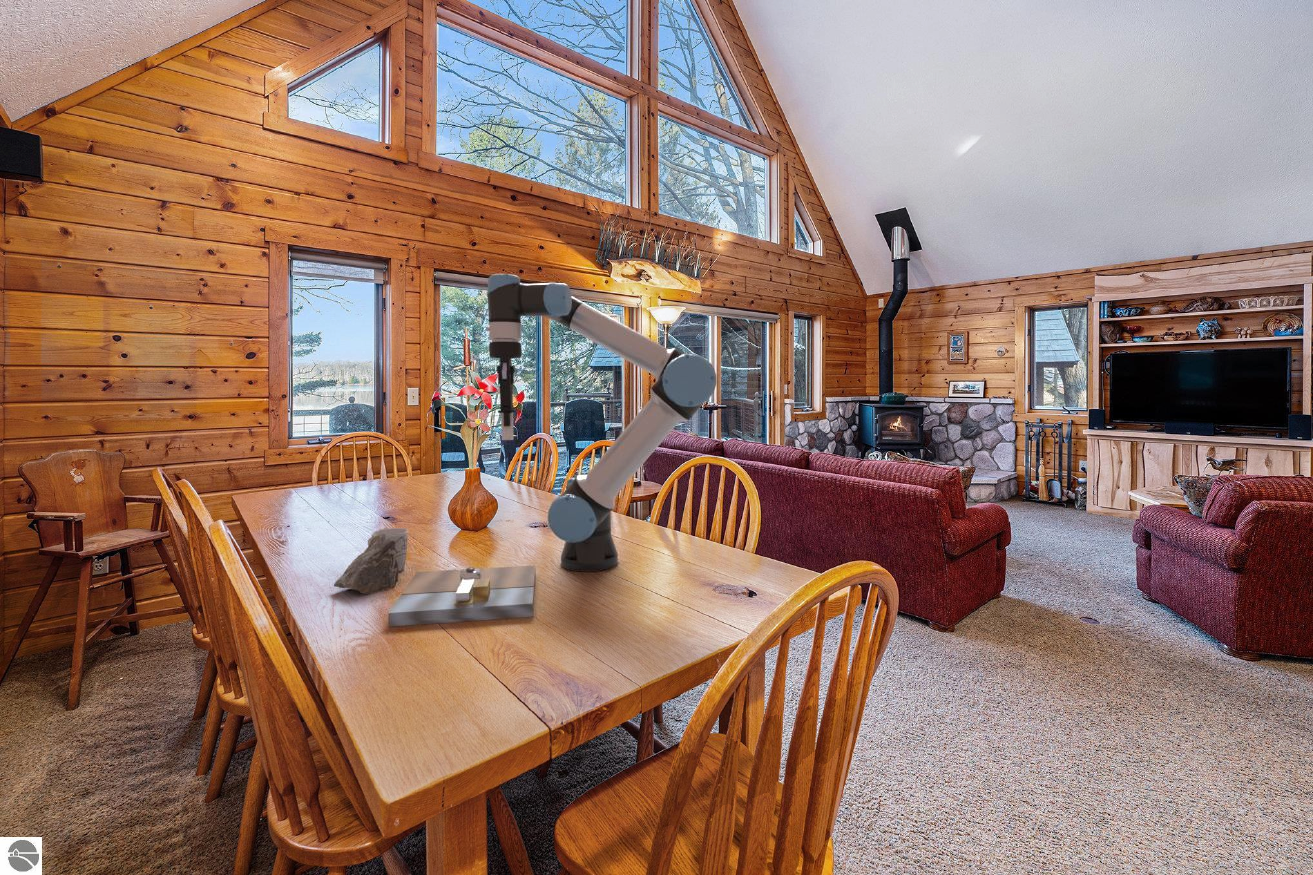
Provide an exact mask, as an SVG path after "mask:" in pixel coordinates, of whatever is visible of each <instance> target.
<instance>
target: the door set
mask: <svg viewBox="0 0 1313 875" xmlns="http://www.w3.org/2000/svg"><path fill="white" fill-rule="evenodd" d="M479 569H480V570H481V579H475V582H474V585H473V593H472V595H471V598H470V600H469V601H459V602H456V592H457V590H458V588H459V586H460V584H461V580H460V572H461V571H462V570H464V569H463V568H462V569H448V570H430V571H416V572H415V574H414V575H413V577H412V578H411V579H410V581H409V583H408V584H407V585H406V586H405V588H404V589H403V591H402V592H401V594H400V596H398V598H397V599H396V601H395V603H394V604H393V606H392V607H391V608H390V610H389V612H388V614H387V615H388V616H387V617H388V626H389V627H403V626H404V627H405V626H417V625H419V626H420V625H430V624H433V625H434V624H444V623H460V622H474V621H475V622H477V621H488V620H503V619H518V618H531V617H533V616H534V604H535V603H534V602H535V589H536V575H537V574H536V565H521V566H502V567H499V566H498V567H484V568H483V567H482V568H479ZM389 627H388V628H389Z"/></svg>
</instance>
